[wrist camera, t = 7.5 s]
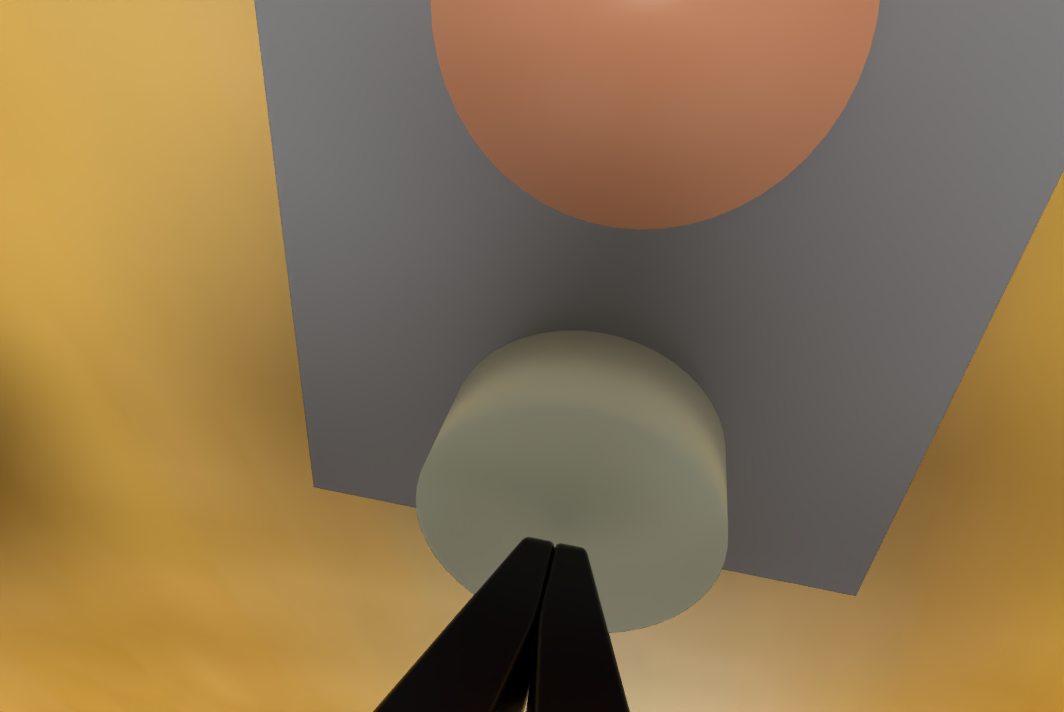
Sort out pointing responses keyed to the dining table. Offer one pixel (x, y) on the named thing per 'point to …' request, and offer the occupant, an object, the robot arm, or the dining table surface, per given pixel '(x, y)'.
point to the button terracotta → (650, 96)
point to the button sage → (583, 471)
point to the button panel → (669, 263)
